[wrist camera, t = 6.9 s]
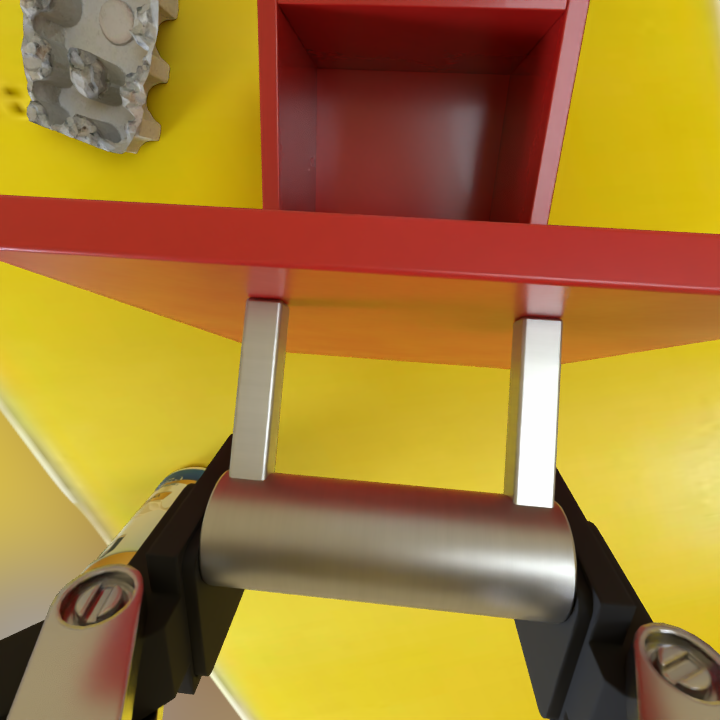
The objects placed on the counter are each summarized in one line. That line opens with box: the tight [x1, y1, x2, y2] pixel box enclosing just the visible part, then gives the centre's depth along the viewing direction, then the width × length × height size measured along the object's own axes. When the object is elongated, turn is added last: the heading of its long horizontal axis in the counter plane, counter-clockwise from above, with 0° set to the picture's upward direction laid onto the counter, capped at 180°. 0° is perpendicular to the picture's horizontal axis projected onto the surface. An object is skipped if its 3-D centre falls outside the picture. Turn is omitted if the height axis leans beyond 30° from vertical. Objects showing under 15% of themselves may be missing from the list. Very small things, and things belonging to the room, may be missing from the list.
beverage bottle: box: [81, 467, 206, 574], centre depth 29 cm, size 8×8×20 cm
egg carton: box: [20, 0, 178, 154], centre depth 25 cm, size 11×8×4 cm
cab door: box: [0, 195, 720, 624], centre depth 13 cm, size 15×13×6 cm
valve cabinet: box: [257, 0, 590, 225], centre depth 24 cm, size 15×13×10 cm
